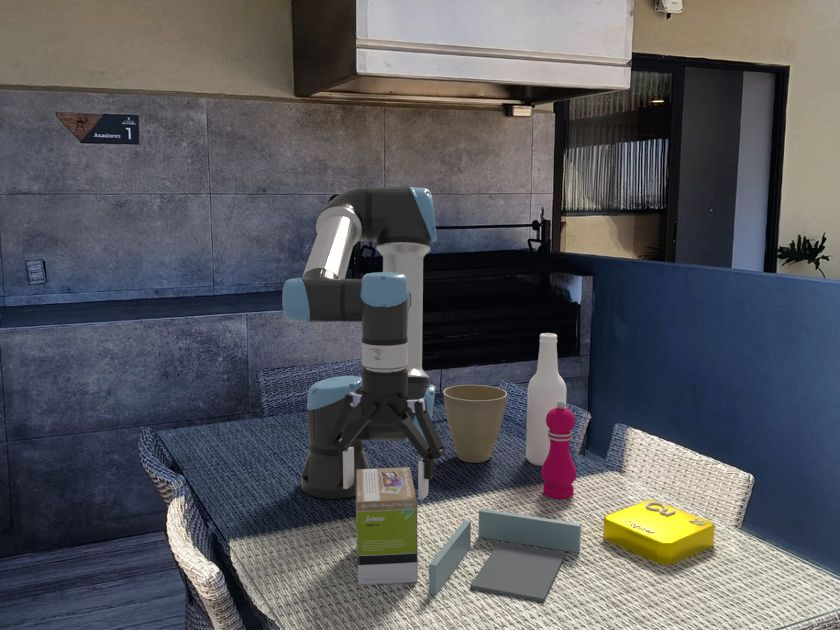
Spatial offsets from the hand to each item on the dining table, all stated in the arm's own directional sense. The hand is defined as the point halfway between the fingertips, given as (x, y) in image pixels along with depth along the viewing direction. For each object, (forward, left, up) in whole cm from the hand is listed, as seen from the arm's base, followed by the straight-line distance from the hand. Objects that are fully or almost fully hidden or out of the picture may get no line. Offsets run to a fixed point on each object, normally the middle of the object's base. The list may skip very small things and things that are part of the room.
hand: (385, 491), depth 137 cm
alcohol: (+14, +61, -13) cm, 64 cm away
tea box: (0, 0, -13) cm, 13 cm away
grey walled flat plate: (+20, +5, -13) cm, 25 cm away
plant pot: (-2, +57, -13) cm, 59 cm away
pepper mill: (+21, +42, -13) cm, 49 cm away
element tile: (+42, +27, -14) cm, 52 cm away
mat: (+22, +6, -13) cm, 26 cm away
